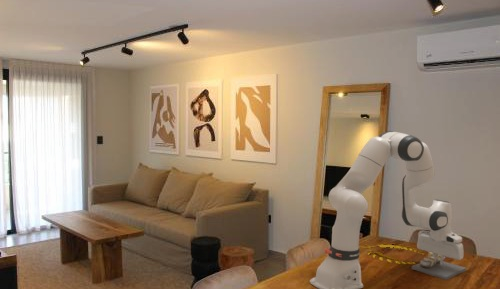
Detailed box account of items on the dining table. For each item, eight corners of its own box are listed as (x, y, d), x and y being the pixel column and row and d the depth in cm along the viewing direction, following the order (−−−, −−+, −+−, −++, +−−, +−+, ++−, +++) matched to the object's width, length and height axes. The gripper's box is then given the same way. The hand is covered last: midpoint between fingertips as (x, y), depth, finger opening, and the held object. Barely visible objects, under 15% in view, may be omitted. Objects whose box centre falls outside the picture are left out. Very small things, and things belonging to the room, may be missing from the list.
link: (428, 268, 176) (428, 263, 176) (418, 265, 180) (418, 260, 180) (442, 261, 187) (442, 256, 187) (432, 259, 190) (432, 254, 190)
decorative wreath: (350, 254, 199) (411, 269, 181) (350, 251, 199) (411, 265, 181) (373, 240, 227) (428, 251, 209) (373, 237, 226) (429, 248, 208)
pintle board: (446, 280, 168) (446, 268, 167) (411, 268, 180) (412, 257, 180) (466, 270, 180) (466, 259, 180) (432, 260, 192) (433, 250, 192)
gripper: (415, 230, 186) (413, 258, 187) (459, 240, 171) (458, 271, 171) (421, 228, 190) (420, 256, 191) (466, 238, 175) (464, 268, 175)
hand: (438, 263), depth 181 cm, fingers closed
